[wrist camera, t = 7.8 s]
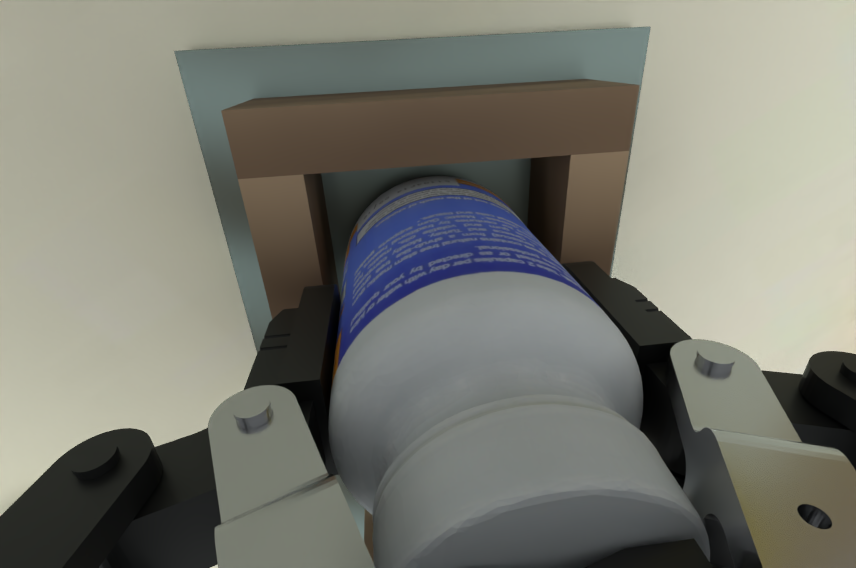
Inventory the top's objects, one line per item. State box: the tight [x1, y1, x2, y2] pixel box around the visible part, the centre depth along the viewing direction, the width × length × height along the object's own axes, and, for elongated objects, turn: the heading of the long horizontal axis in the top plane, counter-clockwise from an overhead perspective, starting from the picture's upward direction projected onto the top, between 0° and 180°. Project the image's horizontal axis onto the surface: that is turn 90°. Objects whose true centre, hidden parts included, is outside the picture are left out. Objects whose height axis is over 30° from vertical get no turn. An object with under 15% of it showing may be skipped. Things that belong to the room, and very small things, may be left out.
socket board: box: [174, 27, 650, 563], centre depth 12 cm, size 22×13×13 cm, turn 3°
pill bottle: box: [328, 176, 710, 568], centre depth 9 cm, size 5×5×10 cm
